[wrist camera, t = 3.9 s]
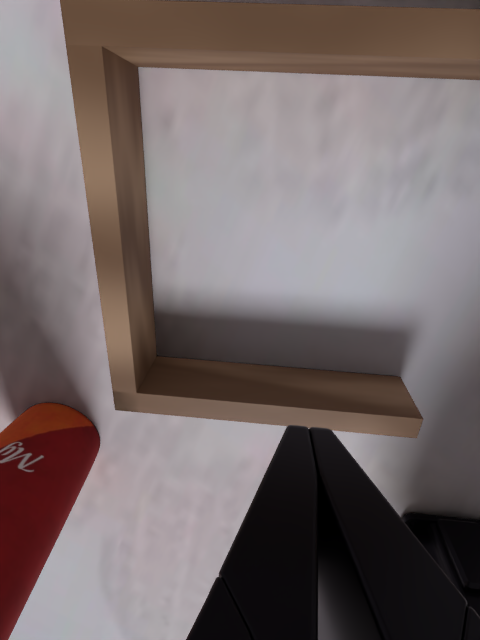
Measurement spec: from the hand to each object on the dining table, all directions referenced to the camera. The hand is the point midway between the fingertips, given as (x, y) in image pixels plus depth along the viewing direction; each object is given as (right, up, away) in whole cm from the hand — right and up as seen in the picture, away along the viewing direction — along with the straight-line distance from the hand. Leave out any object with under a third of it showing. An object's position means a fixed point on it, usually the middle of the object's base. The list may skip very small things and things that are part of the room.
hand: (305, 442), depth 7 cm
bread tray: (+1, +6, +10) cm, 12 cm away
